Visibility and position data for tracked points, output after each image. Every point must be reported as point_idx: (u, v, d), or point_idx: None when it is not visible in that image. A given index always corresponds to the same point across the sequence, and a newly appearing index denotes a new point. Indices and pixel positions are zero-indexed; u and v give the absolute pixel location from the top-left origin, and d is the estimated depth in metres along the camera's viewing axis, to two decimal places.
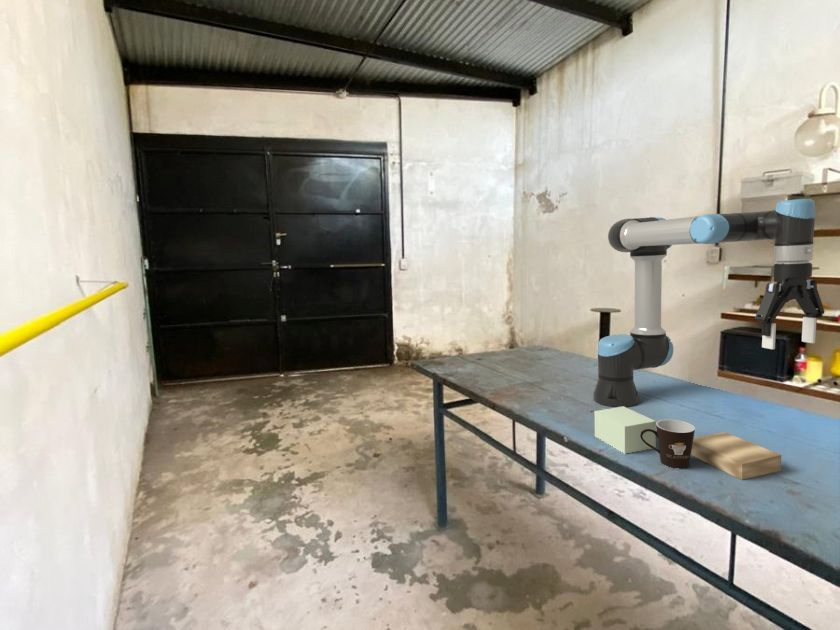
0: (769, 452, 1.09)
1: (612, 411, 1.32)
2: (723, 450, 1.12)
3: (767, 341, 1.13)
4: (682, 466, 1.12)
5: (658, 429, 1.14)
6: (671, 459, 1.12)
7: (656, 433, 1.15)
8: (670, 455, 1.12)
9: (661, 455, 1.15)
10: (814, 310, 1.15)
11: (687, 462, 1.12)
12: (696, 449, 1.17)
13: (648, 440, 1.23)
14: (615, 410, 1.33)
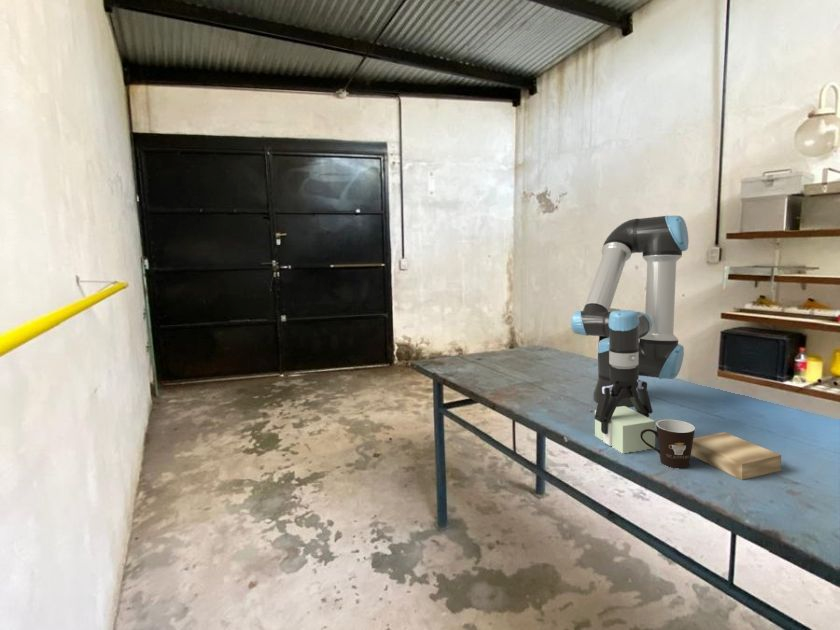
0: (769, 452, 1.09)
1: None
2: (723, 450, 1.12)
3: (606, 438, 1.27)
4: (682, 466, 1.12)
5: (658, 429, 1.14)
6: (671, 459, 1.12)
7: (656, 433, 1.15)
8: (670, 455, 1.12)
9: (661, 455, 1.15)
10: (642, 410, 1.28)
11: (687, 462, 1.12)
12: (696, 449, 1.17)
13: (647, 440, 1.23)
14: (616, 409, 1.32)
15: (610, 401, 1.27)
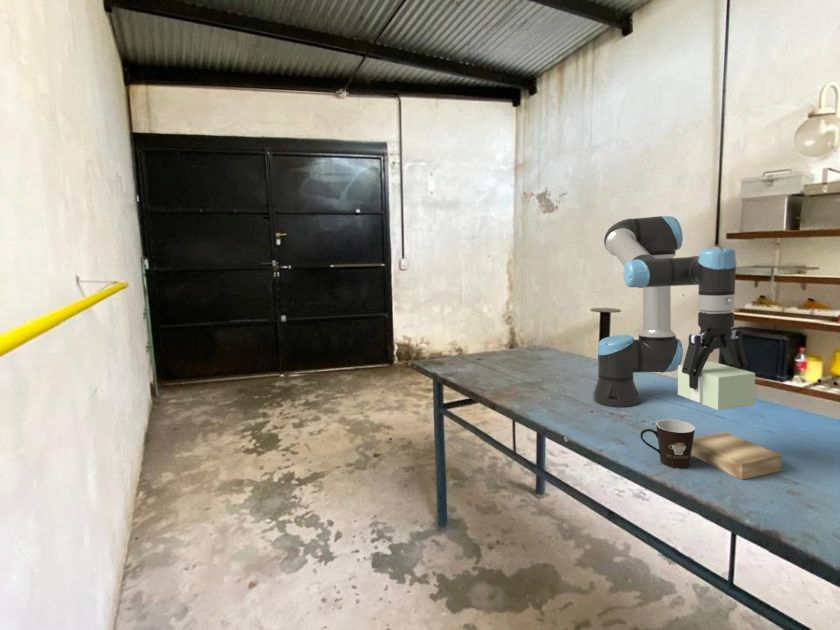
0: (769, 452, 1.09)
1: None
2: (723, 450, 1.12)
3: (695, 394, 1.12)
4: (682, 466, 1.12)
5: (658, 429, 1.14)
6: (671, 459, 1.12)
7: (656, 433, 1.15)
8: (670, 455, 1.12)
9: (661, 455, 1.15)
10: (736, 363, 1.13)
11: (687, 462, 1.12)
12: (696, 449, 1.17)
13: (746, 395, 1.07)
14: None
15: (700, 352, 1.12)
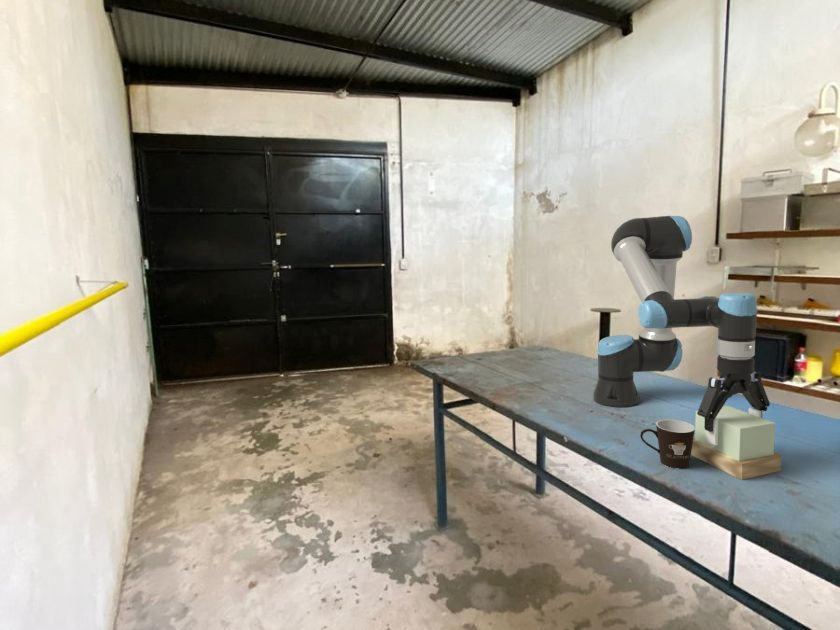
0: None
1: None
2: None
3: (710, 436, 1.11)
4: (682, 466, 1.12)
5: (658, 429, 1.14)
6: (671, 459, 1.12)
7: (656, 433, 1.15)
8: (670, 455, 1.12)
9: (661, 455, 1.15)
10: (759, 403, 1.12)
11: (687, 462, 1.12)
12: (696, 449, 1.17)
13: (766, 445, 1.07)
14: (720, 410, 1.17)
15: (718, 395, 1.11)
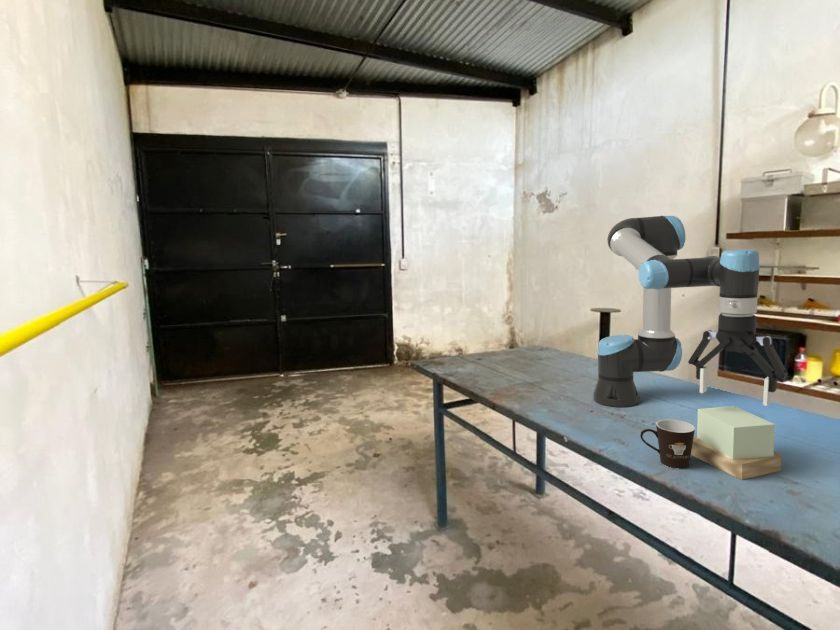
0: None
1: (720, 410, 1.17)
2: None
3: None
4: (682, 466, 1.12)
5: (658, 429, 1.14)
6: (671, 459, 1.12)
7: (656, 433, 1.15)
8: (670, 455, 1.12)
9: (661, 455, 1.15)
10: (765, 370, 1.05)
11: (687, 462, 1.12)
12: (696, 449, 1.17)
13: (764, 446, 1.07)
14: (724, 409, 1.17)
15: None
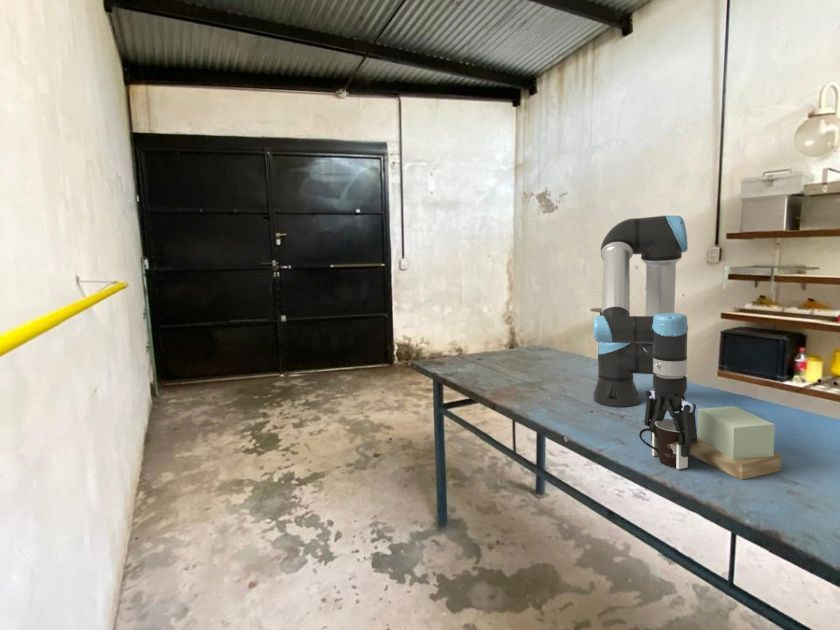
0: None
1: (720, 410, 1.17)
2: None
3: None
4: None
5: (657, 428, 1.14)
6: (669, 458, 1.13)
7: (655, 432, 1.16)
8: (669, 454, 1.13)
9: (660, 454, 1.15)
10: (679, 434, 1.10)
11: None
12: (696, 449, 1.17)
13: (764, 446, 1.07)
14: (724, 409, 1.17)
15: None
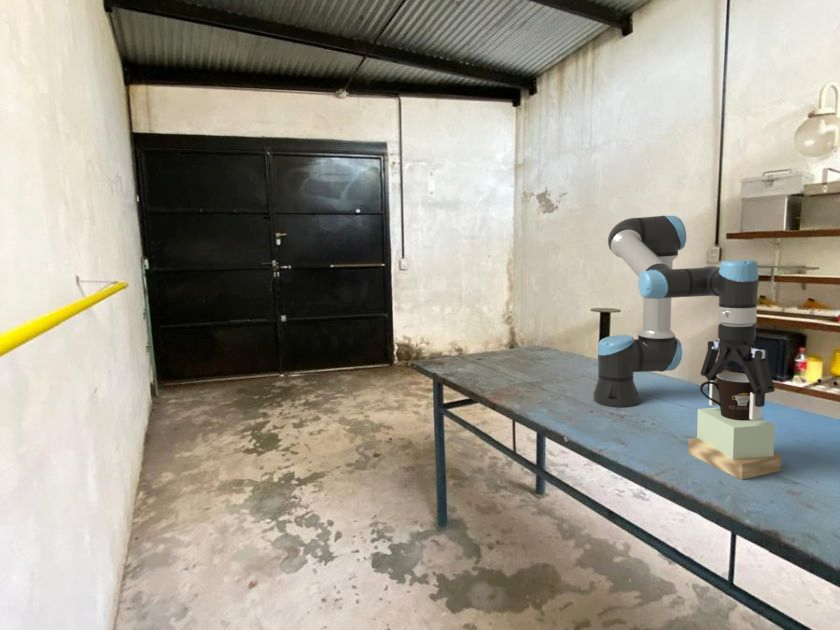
0: None
1: (720, 410, 1.17)
2: None
3: None
4: (745, 418, 1.09)
5: (720, 381, 1.11)
6: (734, 410, 1.10)
7: (717, 385, 1.13)
8: (733, 406, 1.10)
9: (722, 408, 1.12)
10: (752, 383, 1.05)
11: None
12: (696, 449, 1.17)
13: (764, 446, 1.07)
14: None
15: None
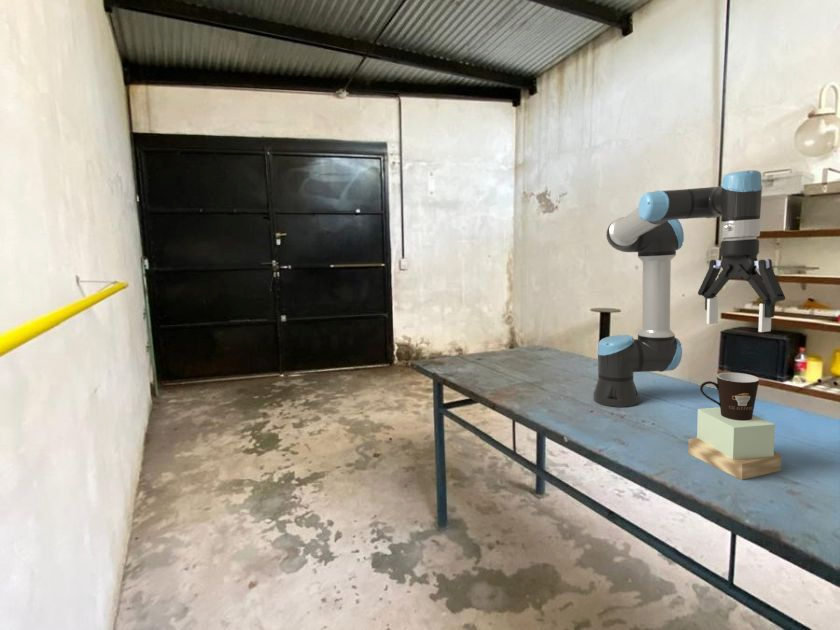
0: None
1: (720, 410, 1.17)
2: None
3: None
4: (745, 418, 1.09)
5: (720, 381, 1.11)
6: (734, 410, 1.10)
7: (717, 385, 1.13)
8: (733, 406, 1.10)
9: (722, 408, 1.12)
10: (760, 294, 1.01)
11: (750, 414, 1.09)
12: (696, 449, 1.17)
13: (764, 446, 1.07)
14: None
15: None
